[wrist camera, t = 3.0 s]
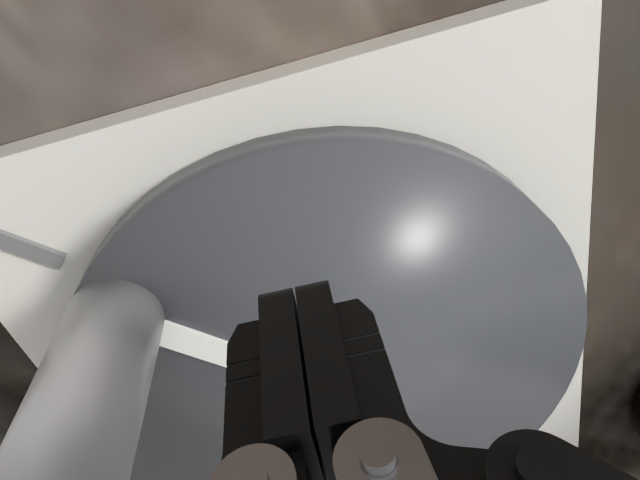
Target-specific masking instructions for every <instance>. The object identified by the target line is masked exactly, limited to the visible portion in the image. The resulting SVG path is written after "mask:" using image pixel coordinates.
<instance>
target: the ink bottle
mask: <svg viewBox="0 0 640 480" xmlns="http://www.w3.org/2000/svg"><path fill="white" fill-rule="evenodd" d="M632 420H633V425H634V427H635V429H636V431H637V433H638V434H639V436H640V391H639V393H638V395H637V397H636V400H635V402H634V406H633V411H632Z"/></svg>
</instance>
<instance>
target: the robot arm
mask: <svg viewBox="0 0 640 480" xmlns="http://www.w3.org/2000/svg"><path fill="white" fill-rule="evenodd" d="M295 294H296V299H295V296H294V292H293V289H292V288H288V289H283V290H279V291H274V292H269V293H265V294H260V295H258V316H259V320H255V321H250V322H245V323H241V324H238V325H237V327H236V328H235V330H234V332H233V334H232V336H231V338H230V340H229V341H228V343H227V360H226V365H227V368H226V386H225V407H224V431H223V452H222V459H221V462H220V463H219V464H218V465H217V466H216V468H215V469H214V470H213V472H212V474H211V475H210V478H209V480H638V479H636V478H634V477H633V476H631V475H629V474H627V473H625V472H623V471H621V470H619V469H617V468H616V467H614V466H612V465H610V464H608V463H606V462H604V461H602V460H601V459H599V458H597V457H595V456H593V455H591V454H589V453H587V452H585V451H584V450H582V449H580V448H578V447H576V446H574V445H572V444H570V443H569V442H567V441H565V440H563V439H561V438H559V437H557V436H555V435H553V434H550V433H547V432H544V431H539V430H534V429H520V430H514V431H510V432H507V433H505V434H503V435H501V436H500V437H499V438H497V439H496V440H495V441H494V442H493V443H492V444H491V445H490V447H489V449H483V448H472V447H461V446H453V445H448V444H444V443H441V442H438V441H436V440H434V439H431V438H430V437H428V436H426V435H425V434H423V433H422V432H421V431H420V430H419V429H418V428H417V427H416V426H415V425H414V424H413V423H412V421H411V420H410V418H409V416H408V414H407V412H406V409H405V406H404V403H403V400H402V397H401V394H400V391H399V388H398V385H397V382H396V379H395V376H394V373H393V370H392V367H391V364H390V361H389V359H388V356H387V353H386V351H385V347H384V344H383V341H382V338H381V335H380V332H379V329H378V326H377V323H376V320H375V317H374V314H373V312H372V311H371V310H370V309H369V308H368V307H367V306H366V305H365V304H363V303H362V302H361V301H360V300H359V299H358V298H357V299H352V300H347V301H343V302H338V303H333V298H332V294H331V290H330V286H329V282H328V280H325V281H320V282H316V283H311V284H306V285H301V286H297V287H295ZM296 301H297V303H296Z"/></svg>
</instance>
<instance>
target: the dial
mask: <svg viewBox="0 0 640 480" xmlns="http://www.w3.org/2000/svg"><path fill="white" fill-rule="evenodd" d="M325 280H328V282H329V286H330V290H331V294H332V298H333V303H338V302H343V301H347V300H352V299H357V298H358V299H359V300H360V301H361V302H362V303H363V304H365V305H366V306H367V307H368V308H369V309H370V310H371V311H372V312H373V314H374V317H375V320H376V323H377V326H378V329H379V332H380V335H381V338H382V341H383V344H384V347H385V351H386V353H387V356H388V359H389V361H390V364H391V367H392V370H393V373H394V376H395V379H396V382H397V385H398V388H399V391H400V394H401V397H402V400H403V403H404V406H405V409H406V412H407V414H408V416H409V418H410V420H411V421H412V423H413V424H414V425H415V426H416V427H417V428H418V429H419V430H420V431H421V432H422V433H423V434H425V435H426V436H428V437H430V438H431V439H434V440H436V441H438V442H441V443H444V444H448V445H453V446H461V447H472V448H483V449H489V447H490V445H491V444H492V443H493V442H494V441H495V440H496V439H497V438H499V437H500V436H501V435H503V434H505V433H507V432H510V431H514V430H520V429H534V430H539V429H540V427H541V426H542V425H543V424H544V423H545V421H546V420H547V419H548V418H549V417H550V415H551V414H552V413H553V411H554V410H555V408H556V407H557V405H558V404H559V402H560V401H561V399H562V397H563V396H564V394H565V393H566V391H567V389H568V387H569V385H570V383H571V381H572V378H573V376H574V374H575V372H576V370H577V367H578V364H579V360H580V357H581V354H582V351H583V348H584V342H585V335H586V328H587V297H586V292H585V288H584V283H583V279H582V274H581V271H580V268H579V266H578V264H577V262H576V259H575V257H574V255H573V252H572V250H571V248H570V246H569V244H568V243H567V242H566V240H565V239H564V237H563V236H562V234H561V233H560V231H559V230H558V228H557V227H556V225H555V224H554V223H553V222H552V221H551V220H550V219H549V218H548V217H547V216H546V215H545V214H544V213H543V212H542V211H541V210H540V209H539V208H538V207H537V206H536V205H535V204H534V203H533V202H532V201H531V200H530V199H529V198H528V197H527V196H526V195H525V194H524V193H523V192H522V191H521V190H520V189H519V188H518V187H517V186H516V185H515V184H514V183H513V182H512V181H511V180H510V179H508V178H507V177H506V176H504V175H503V174H501V173H500V172H499V171H497V170H496V169H494V168H493V167H492V166H490V165H489V164H487V163H486V162H485V161H483V160H481V159H479V158H477V157H475V156H473V155H471V154H469V153H467V152H465V151H463V150H461V149H459V148H457V147H455V146H453V145H450V144H446V143H443V142H440V141H437V140H434V139H431V138H428V137H425V136H422V135H419V134H414V133H408V132H403V131H397V130H391V129H386V128H380V127H360V126H327V127H316V128H304V129H295V130H290V131H286V132H281V133H276V134H272V135H267V136H262V137H258V138H254V139H251V140H248V141H245V142H243V143H240V144H237V145H234V146H231V147H228V148H226V149H223V150H220V151H217V152H215V153H213V154H211V155H209V156H207V157H205V158H203V159H201V160H199V161H197V162H195V163H193V164H191V165H189V166H187V167H185V168H183V169H181V170H179V171H178V172H176V173H175V174H174V175H172V176H171V177H169V178H168V179H166V180H165V181H163V182H162V183H161V184H159V185H158V186H156V187H155V188H153V189H152V190H150V191H149V192H148V193H147V194H146V195H144V196H143V197H142V198H141V199H140V200H139V201H138V202H137V203H136V204H135V205H134V206H133V207H132V208H130V209H129V210H128V211H127V212H126V213H125V214H124V215H123V216H122V217H121V218H120V219H119V221H118V222H117V223H116V224H115V226H114V227H113V228H112V230H111V231H110V232H109V233H108V235H107V236H106V237H105V238H104V240H103V241H102V242H101V243H100V245H99V247H98V249H97V251H96V252H95V254H94V256H93V258H92V260H91V262H90V263H89V265H88V267H87V269H86V271H85V273H84V275H83V277H82V279H81V281H80V283H79V285H78V287H77V289H76V291H75V293H74V295H73V297H72V299H71V302H70V304H69V306H68V308H67V310H66V312H65V314H64V316H63V318H62V320H61V322H60V324H59V326H58V328H57V330H56V332H55V334H54V337H53V339H52V341H51V343H50V345H49V347H48V349H47V351H46V353H45V355H44V357H43V359H42V361H41V363H40V365H39V367H38V370H37V372H36V374H35V376H34V378H33V380H32V382H31V384H30V386H29V388H28V390H27V392H26V394H25V396H24V398H23V400H22V403H21V405H20V407H19V409H18V411H17V413H16V415H15V417H14V419H13V421H12V423H11V425H10V427H9V429H8V431H7V433H6V436H5V438H4V440H3V442H2V444H1V446H0V480H209V478H210V475H211V474H212V472H213V470H214V469H215V468H216V466H217V465H218V464H219V463H220V462H221V459H222V452H223V431H224V407H225V386H226V368H227V365H226V360H227V343H228V341H229V340H230V338H231V336H232V334H233V332H234V330H235V328H236V327H237V325H238V324H241V323H245V322H250V321H255V320H259V316H258V295H260V294H265V293H269V292H274V291H279V290H283V289H288V288H292V289H293V292H294V296H295V299H296V294H295V287H297V286H301V285H306V284H311V283H316V282H320V281H325ZM296 303H297V301H296Z"/></svg>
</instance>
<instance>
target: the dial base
mask: <svg viewBox="0 0 640 480" xmlns="http://www.w3.org/2000/svg"><path fill="white" fill-rule="evenodd" d="M601 8H602V0H506V1H502V2H499V3H495V4H492V5H488V6H485V7H481V8H478V9H474V10H471V11H467V12H464V13H460V14H457V15H454V16H450V17H447V18H443V19H440V20H436V21H433V22H429V23H426V24H422V25H419V26H415V27H412V28H408V29H405V30H401V31H398V32H394V33H391V34H387V35H384V36H381V37H377V38H374V39H370V40H367V41H363V42H360V43H356V44H353V45H349V46H346V47H342V48H339V49H335V50H332V51H328V52H325V53H321V54H318V55H314V56H311V57H308V58H304V59H301V60H297V61H294V62H290V63H287V64H283V65H280V66H276V67H273V68H269V69H266V70H262V71H259V72H255V73H252V74H248V75H245V76H242V77H238V78H235V79H231V80H228V81H224V82H221V83H217V84H214V85H210V86H207V87H203V88H200V89H196V90H193V91H189V92H186V93H182V94H179V95H175V96H172V97H169V98H165V99H162V100H158V101H155V102H151V103H148V104H144V105H141V106H137V107H134V108H130V109H127V110H123V111H120V112H116V113H113V114H109V115H106V116H102V117H99V118H96V119H92V120H89V121H85V122H82V123H78V124H75V125H71V126H68V127H64V128H61V129H57V130H54V131H50V132H47V133H43V134H40V135H36V136H33V137H29V138H26V139H23V140H19V141H16V142H12V143H9V144H5V145H2V146H0V322H1V323H2V325H3V326H4V327H5V328H6V330H7V331H8V332H9V333H10V334H11V336H12V337H13V338H14V339H15V341H16V342H17V343H18V344H19V346H20V347H21V348H22V349H23V351H24V352H25V353H26V354H27V356H28V357H29V358H30V359H31V361H32V362H33V363H34V364H35V366H36V367H37V368H38V367H39V365H40V363H41V361H42V359H43V357H44V355H45V353H46V351H47V349H48V347H49V345H50V343H51V341H52V339H53V337H54V334H55V332H56V330H57V328H58V326H59V324H60V322H61V320H62V318H63V316H64V314H65V312H66V310H67V308H68V306H69V304H70V302H71V299H72V297H73V295H74V293H75V291H76V289H77V287H78V285H79V283H80V281H81V279H82V277H83V275H84V273H85V271H86V269H87V267H88V265H89V263H90V262H91V260H92V258H93V256H94V254H95V252H96V251H97V249H98V247H99V245H100V243H101V242H102V241H103V240H104V238H105V237H106V236H107V235H108V233H109V232H110V231H111V230H112V228H113V227H114V226H115V224H116V223H117V222H118V221H119V219H120V218H121V217H122V216H123V215H124V214H125V213H126V212H127V211H128V210H129V209H130V208H132V207H133V206H134V205H135V204H136V203H137V202H138V201H139V200H140V199H141V198H142V197H143V196H144V195H146V194H147V193H148V192H149V191H150V190H152V189H153V188H155V187H156V186H158V185H159V184H161V183H162V182H163V181H165V180H166V179H168V178H169V177H171V176H172V175H174V174H175V173H176V172H178V171H179V170H181V169H183V168H185V167H187V166H189V165H191V164H193V163H195V162H197V161H199V160H201V159H203V158H205V157H207V156H209V155H211V154H213V153H215V152H217V151H220V150H223V149H226V148H228V147H231V146H234V145H237V144H240V143H243V142H245V141H248V140H251V139H254V138H258V137H262V136H267V135H272V134H276V133H281V132H286V131H290V130H295V129H304V128H316V127H327V126H360V127H380V128H386V129H391V130H397V131H403V132H408V133H414V134H419V135H422V136H425V137H428V138H431V139H434V140H437V141H440V142H443V143H446V144H450V145H453V146H455V147H457V148H459V149H461V150H463V151H465V152H467V153H469V154H471V155H473V156H475V157H477V158H479V159H481V160H483V161H485V162H486V163H487V164H489V165H490V166H492V167H493V168H494V169H496V170H497V171H499V172H500V173H501V174H503V175H504V176H506V177H507V178H508V179H510V180H511V181H512V182H513V183H514V184H515V185H516V186H517V187H518V188H519V189H520V190H521V191H522V192H523V193H524V194H525V195H526V196H527V197H528V198H529V199H530V200H531V201H532V202H533V203H534V204H535V205H536V206H537V207H538V208H539V209H540V210H541V211H542V212H543V213H544V214H545V215H546V216H547V217H548V218H549V219H550V220H551V221H552V222H553V223H554V224H555V225H556V227H557V228H558V230H559V231H560V233H561V234H562V236H563V237H564V239H565V240H566V242H567V243H568V244H569V246H570V248H571V250H572V252H573V255H574V257H575V259H576V262H577V264H578V266H579V268H580V271H581V274H582V279H583V283H584V288H585V292H586V290H587V272H588V253H589V234H590V215H591V196H592V177H593V158H594V140H595V121H596V102H597V83H598V64H599V45H600V26H601ZM582 366H583V351H582V354H581V357H580V360H579V364H578V367H577V370H576V372H575V374H574V376H573V378H572V381H571V383H570V385H569V387H568V389H567V391H566V393H565V394H564V396H563V397H562V399H561V401H560V402H559V404H558V405H557V407H556V408H555V410H554V411H553V413H552V414H551V415H550V417H549V418H548V419H547V420H546V421H545V423H544V424H543V425H542V426H541V427H540V429H539V431H544V432H547V433H550V434H553V435H555V436H557V437H559V438H561V439H563V440H565V441H567V442H569V443H570V444H572V445H574V446H576V447H578V441H579V422H580V404H581V385H582Z"/></svg>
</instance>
